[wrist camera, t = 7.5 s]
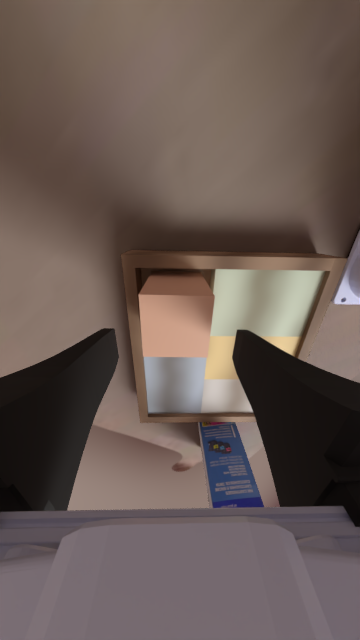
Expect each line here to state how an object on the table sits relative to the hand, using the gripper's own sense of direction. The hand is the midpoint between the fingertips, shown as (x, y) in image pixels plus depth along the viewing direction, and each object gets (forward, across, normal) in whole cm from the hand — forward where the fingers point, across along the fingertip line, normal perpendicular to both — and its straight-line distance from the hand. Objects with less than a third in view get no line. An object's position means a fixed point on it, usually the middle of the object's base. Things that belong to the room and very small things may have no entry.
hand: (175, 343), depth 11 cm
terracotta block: (+8, 0, 0) cm, 8 cm away
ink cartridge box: (+10, -7, +23) cm, 26 cm away
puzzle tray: (+9, -5, +6) cm, 12 cm away
